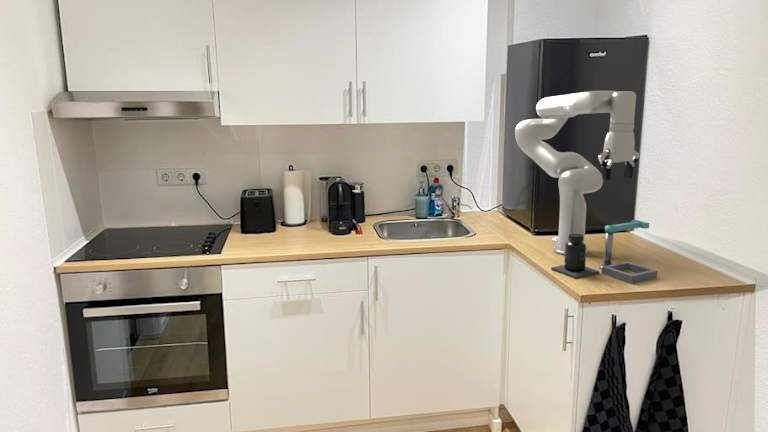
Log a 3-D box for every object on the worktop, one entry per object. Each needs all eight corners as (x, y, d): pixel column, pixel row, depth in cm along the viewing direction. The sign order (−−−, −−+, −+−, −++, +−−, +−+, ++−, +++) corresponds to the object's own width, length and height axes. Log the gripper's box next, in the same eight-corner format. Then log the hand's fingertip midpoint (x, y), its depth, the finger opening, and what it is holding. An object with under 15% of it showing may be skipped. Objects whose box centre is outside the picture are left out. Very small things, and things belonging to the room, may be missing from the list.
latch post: (596, 267, 196) (598, 231, 194) (606, 265, 199) (609, 229, 196) (607, 271, 192) (610, 234, 189) (618, 269, 194) (620, 233, 191)
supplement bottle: (580, 265, 196) (582, 232, 194) (588, 271, 189) (590, 237, 187) (560, 266, 196) (562, 232, 193) (568, 272, 189) (570, 237, 186)
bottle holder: (601, 273, 190) (602, 266, 189) (626, 268, 195) (627, 261, 195) (631, 283, 180) (632, 276, 179) (656, 277, 185) (657, 270, 184)
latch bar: (613, 233, 189) (613, 228, 189) (599, 230, 194) (599, 225, 194) (648, 228, 196) (649, 223, 196) (634, 224, 202) (635, 219, 201)
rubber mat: (551, 269, 195) (551, 267, 195) (574, 265, 200) (574, 262, 200) (575, 278, 185) (575, 276, 185) (599, 273, 190) (599, 271, 190)
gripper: (632, 127, 198) (628, 175, 201) (593, 128, 191) (589, 178, 195) (649, 128, 191) (644, 178, 195) (609, 130, 184) (605, 182, 188)
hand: (617, 178), depth 195 cm, fingers open, 9 cm apart
